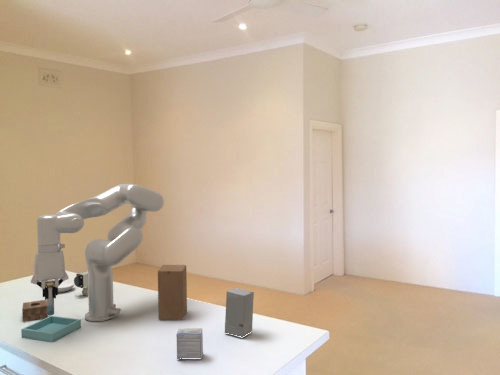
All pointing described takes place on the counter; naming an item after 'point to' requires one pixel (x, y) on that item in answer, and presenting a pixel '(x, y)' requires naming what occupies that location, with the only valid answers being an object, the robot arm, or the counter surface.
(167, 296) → the wooden block
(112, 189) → the robot arm
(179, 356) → the medicine box
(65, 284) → the spoon rest
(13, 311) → the counter surface
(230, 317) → the skincare box
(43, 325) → the tray
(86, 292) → the pneumatic valve
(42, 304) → the block
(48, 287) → the lock pin
